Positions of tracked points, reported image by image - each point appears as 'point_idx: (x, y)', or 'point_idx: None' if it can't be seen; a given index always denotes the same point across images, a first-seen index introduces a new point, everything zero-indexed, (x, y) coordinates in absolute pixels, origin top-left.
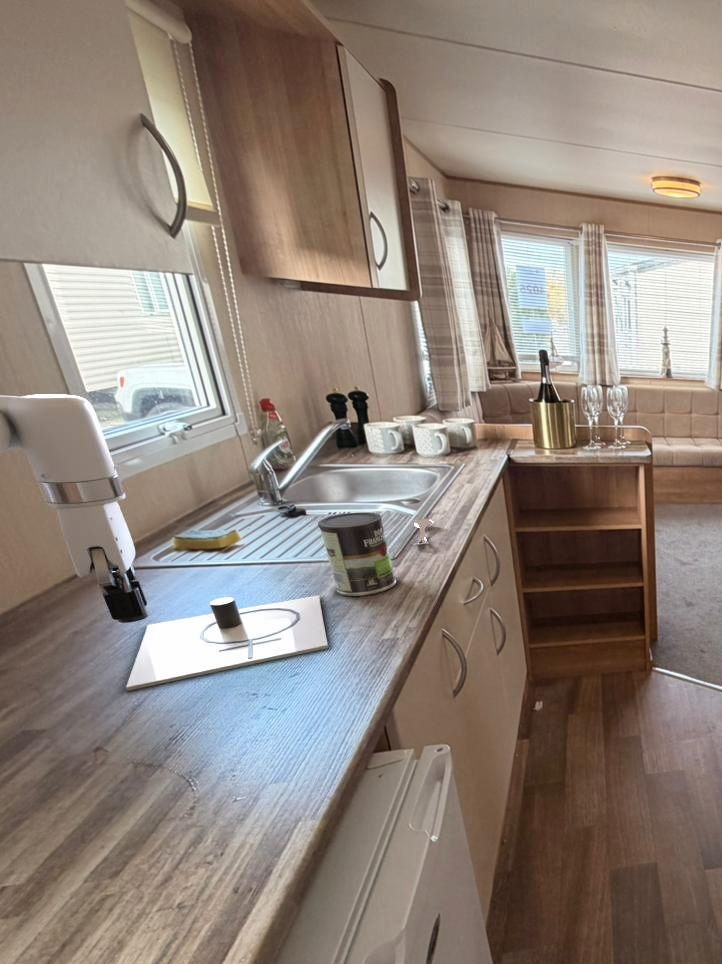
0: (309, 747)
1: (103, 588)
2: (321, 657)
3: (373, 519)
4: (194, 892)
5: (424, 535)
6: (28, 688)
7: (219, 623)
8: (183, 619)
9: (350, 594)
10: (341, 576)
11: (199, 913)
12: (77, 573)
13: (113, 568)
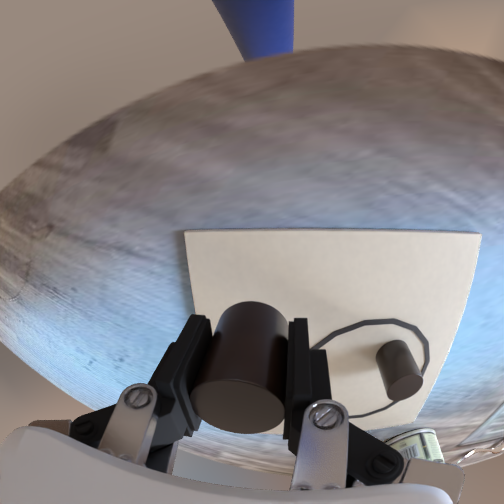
0: (43, 362)
1: (83, 415)
2: None
3: None
4: None
5: (481, 451)
6: (293, 70)
7: (386, 351)
8: (467, 285)
9: (386, 443)
10: None
11: None
12: (9, 435)
13: (348, 467)
